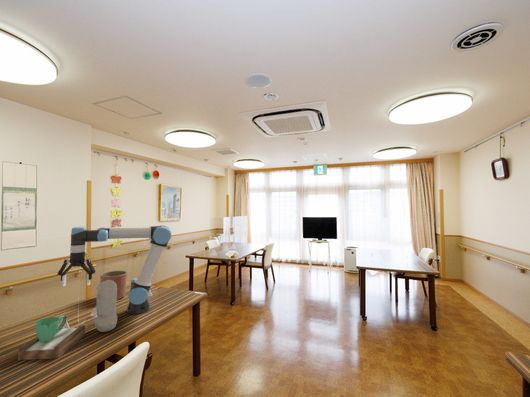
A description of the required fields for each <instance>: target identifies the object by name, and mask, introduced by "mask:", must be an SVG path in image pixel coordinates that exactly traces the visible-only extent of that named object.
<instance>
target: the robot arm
mask: <svg viewBox="0 0 530 397" xmlns="http://www.w3.org/2000/svg"><path fill="white" fill-rule="evenodd" d="M70 231H71V233H70V250H69V252H70V253H69V259H68V258H67V259H64V260H63V264H62V265H61V267H60V268H59V270H58V272H57V276H60V281H61V287H65V286H67V273H68V272H69V271H70V270H71V269H72V268H73V267H74V268H75V267H78V268H79V267H80V268H82V269H83V270H84V271H85V272H86V274H87V275H86V286H87V287H88V286H90V285H91V280H92V279H93V274H96V272H97V271H96V270H95V267H94V266H93V264H92V261H91V258H87V259H86V243H88V242H89V243H91V242H92V243H93V242H95V243H97V242H100V243H101V242H107V241H108V240H110V239H111V240H112V239H113V240H115V239H116V240H117V239H118V240H119V239H121V240H122V239H149V240H150V242H149V244H150V248H149V250H148V252H147V254H146V257H145V259H144V262H143V264H142V267H141V270H140V272H139V273H138V276H137V277H135V278H132V279H131V281H130V289H129V293H128V295H127V296H128V300H129V302H128V305H127V308H126V313H127V314H129V315H139V314H144V313H146V312H148V311H149V310H150V309H151V308H150V307H151V304H150V301H149V298H148V296H149V293H150V289H151V287H152V285H153V284H152V282H151V280H152V278H153V276H154V274H155V271H156V269H157V265H158V264H159V260H160V258H161V256H162V253H163V251H164V249H166V248H167V247H168V244H169V242H170V241H171V239H172V231H171V229H170V228H169V227H168V226H166V225H164V224H163V225H157V226H156V225H155V226H154V225H153V226H149V227H110V228H109V227H108V228H105V227H99V228H97V229H87V228H86V227H85V226H76V227H74V226H73V227H72V228H71V230H70ZM68 264H69V265H68ZM86 264H87V265H86Z"/></svg>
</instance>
